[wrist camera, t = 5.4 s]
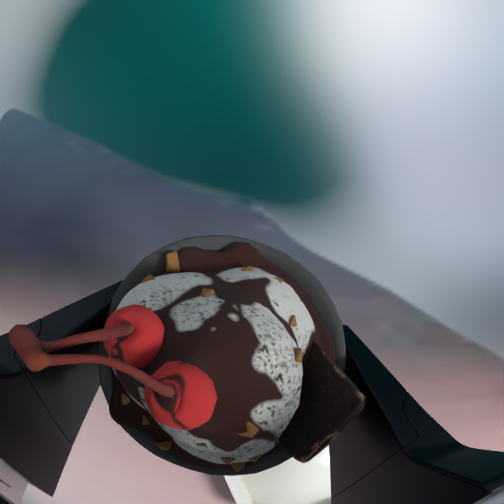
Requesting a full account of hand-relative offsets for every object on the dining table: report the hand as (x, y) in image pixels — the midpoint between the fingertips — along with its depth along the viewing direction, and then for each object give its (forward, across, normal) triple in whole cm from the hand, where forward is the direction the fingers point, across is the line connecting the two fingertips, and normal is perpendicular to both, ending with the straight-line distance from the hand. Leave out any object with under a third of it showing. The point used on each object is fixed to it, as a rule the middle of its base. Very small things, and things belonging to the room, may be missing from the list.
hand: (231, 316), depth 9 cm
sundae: (+5, 0, +7) cm, 8 cm away
